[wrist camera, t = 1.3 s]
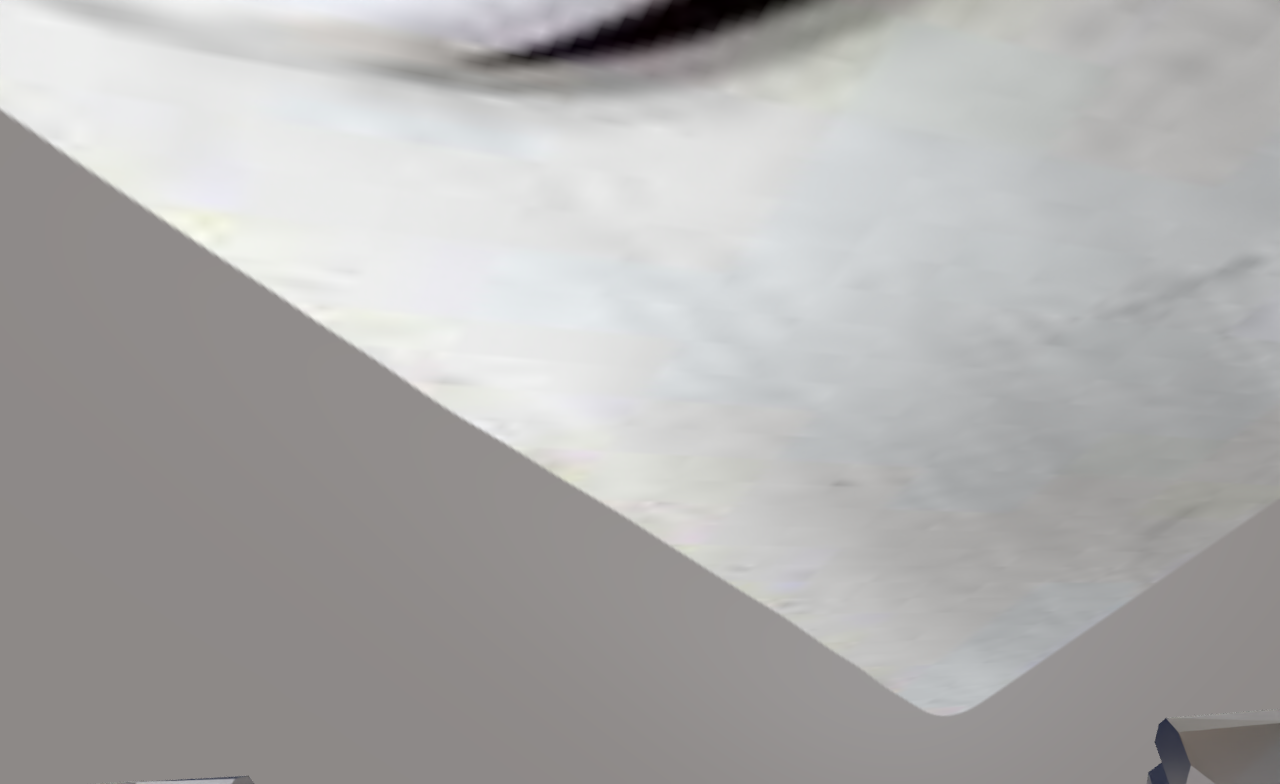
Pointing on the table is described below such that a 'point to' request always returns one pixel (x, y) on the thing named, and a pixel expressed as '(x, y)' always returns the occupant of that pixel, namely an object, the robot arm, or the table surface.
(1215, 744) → the robot arm
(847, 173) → the table surface
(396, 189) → the table surface
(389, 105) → the table surface
